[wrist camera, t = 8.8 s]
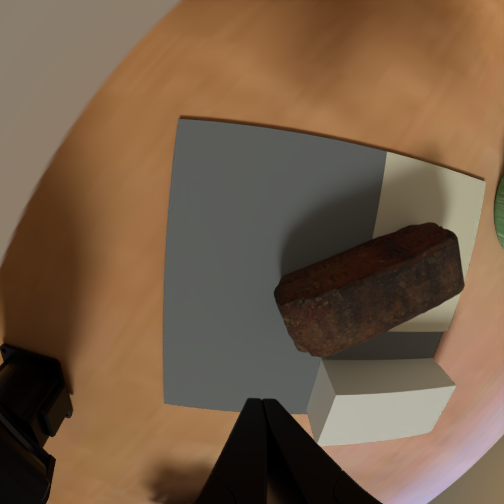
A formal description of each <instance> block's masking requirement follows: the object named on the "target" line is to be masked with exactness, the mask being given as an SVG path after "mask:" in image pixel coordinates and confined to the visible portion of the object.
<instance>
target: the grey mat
mask: <svg viewBox="0 0 504 504" xmlns="http://www.w3.org/2000/svg"><path fill="white" fill-rule="evenodd" d="M485 185H486V182H484V181H481V180H478V179H476V178H473V177H470V176H467V175H464V174H461V173H458V172H455V171H452V170H449V169H446V168H443V167H440V166H437V165H433V164H430V163H427V162H423V161H420V160H416V159H413V158H409V157H406V156H402V155H398V154H394V153H391V152H387V151H383V150H379V149H375V148H370V147H366V146H362V145H357V144H353V143H348V142H344V141H339V140H334V139H329V138H324V137H319V136H313V135H308V134H302V133H296V132H290V131H284V130H278V129H271V128H264V127H257V126H249V125H241V124H232V123H223V122H213V121H201V120H189V119H178V125H177V133H176V141H175V149H174V157H173V166H172V176H171V186H170V197H169V209H168V222H167V236H166V253H165V273H164V304H163V378H164V403H165V404H171V405H178V406H186V407H194V408H202V409H212V410H222V411H234V412H241V410H242V408H243V406H244V404H245V402H246V400H247V398H260V399H261V400H262V399H263V398H274V399H277V400H278V401H279V402H280V404H281V405H282V406H283V407H284V408H285V409H286V410H287V411H288V413H289V414H307V411H306V409H307V406H308V403H309V400H310V397H311V393H312V390H313V387H314V383H315V380H316V377H317V373H318V370H319V367H320V363H321V360H397V359H421V358H433V356H434V353H435V351H436V348H437V346H438V343H439V341H440V338H441V335H442V333H443V332H447V331H448V329H449V326H450V323H451V321H452V318H453V315H454V312H455V309H456V306H457V303H458V300H459V297H460V294H461V292H460V294H458V295H456V296H454V297H453V298H451V299H449V300H447V301H445V302H444V303H442V304H441V305H439V306H438V307H435V308H433V309H431V310H428V311H427V312H426V313H423V314H420V315H418V316H416V317H415V318H413V319H411V320H409V321H407V322H405V323H402V324H400V325H398V326H396V327H394V328H392V329H390V330H389V331H387V332H385V333H382V334H379V335H377V336H374V337H373V338H371V339H369V340H367V341H365V342H362V343H360V344H357V345H355V346H353V347H351V348H348V349H345V350H343V351H341V352H338V353H336V354H333V355H330V356H327V357H324V358H320V357H313V356H311V355H310V354H309V353H308V352H307V353H305V352H300V351H298V350H297V348H296V346H295V345H294V342H293V339H292V338H291V337H290V336H289V334H288V332H287V328H286V326H285V324H284V321H283V318H282V316H281V314H280V312H279V309H278V307H277V304H276V302H275V298H274V290H275V288H276V287H277V286H278V284H279V281H280V279H281V278H282V277H283V276H284V275H286V274H289V273H291V272H294V271H296V270H299V269H302V268H304V267H306V266H309V265H311V264H314V263H316V262H319V261H321V260H324V259H327V258H329V257H331V256H333V255H336V254H338V253H341V252H343V251H345V250H348V249H350V248H352V247H355V246H357V245H360V244H362V243H364V242H367V241H370V240H372V239H374V238H376V237H379V236H383V235H386V234H390V233H393V232H396V231H398V230H400V229H402V228H404V227H407V226H409V225H420V224H423V223H427V222H434V223H436V224H438V226H442V227H443V228H444V229H448V230H450V231H453V232H454V233H455V234H456V236H457V237H458V243H459V249H460V257H461V264H462V270H463V277H464V281H465V277H466V274H467V270H468V267H469V263H470V259H471V255H472V251H473V247H474V243H475V239H476V234H477V230H478V225H479V220H480V215H481V209H482V204H483V198H484V192H485Z"/></svg>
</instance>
